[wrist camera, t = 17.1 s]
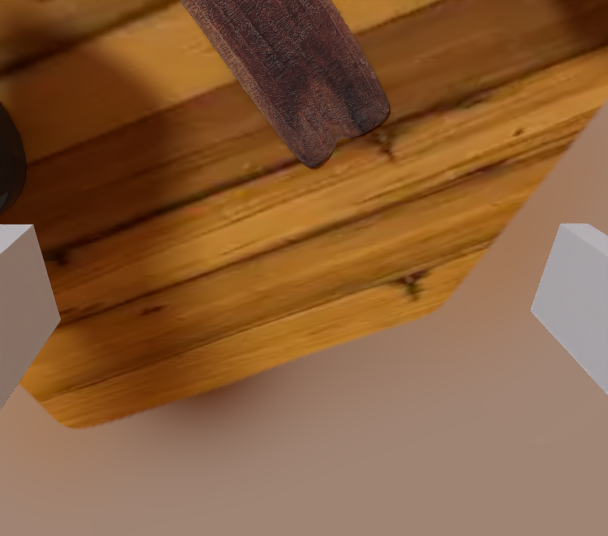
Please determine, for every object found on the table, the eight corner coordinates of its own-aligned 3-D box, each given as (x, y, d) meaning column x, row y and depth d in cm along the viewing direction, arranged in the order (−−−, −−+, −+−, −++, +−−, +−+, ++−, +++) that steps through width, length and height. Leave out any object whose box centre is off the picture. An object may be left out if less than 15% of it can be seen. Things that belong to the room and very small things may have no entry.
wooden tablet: (86, -120, 30) (192, -245, 27) (98, -115, 32) (199, -231, 29) (307, 178, 42) (400, 116, 39) (307, 169, 44) (396, 109, 41)
